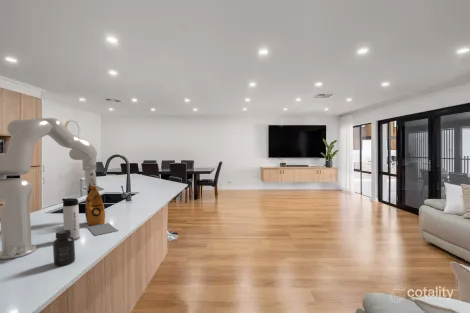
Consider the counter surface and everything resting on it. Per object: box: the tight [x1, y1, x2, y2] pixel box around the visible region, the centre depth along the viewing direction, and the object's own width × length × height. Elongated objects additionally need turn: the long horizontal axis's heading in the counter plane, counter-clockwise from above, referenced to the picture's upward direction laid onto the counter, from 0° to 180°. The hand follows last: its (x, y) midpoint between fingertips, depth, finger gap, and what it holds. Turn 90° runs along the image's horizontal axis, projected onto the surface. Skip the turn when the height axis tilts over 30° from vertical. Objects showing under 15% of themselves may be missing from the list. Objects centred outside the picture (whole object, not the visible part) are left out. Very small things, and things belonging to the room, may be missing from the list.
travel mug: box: [61, 197, 81, 241], centre depth 124 cm, size 6×7×20 cm
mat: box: [87, 222, 119, 237], centre depth 139 cm, size 19×11×1 cm, turn 40°
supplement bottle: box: [52, 229, 76, 267], centre depth 98 cm, size 7×7×12 cm
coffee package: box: [84, 185, 106, 226], centre depth 151 cm, size 10×12×22 cm
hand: (90, 196), depth 160 cm, fingers closed
